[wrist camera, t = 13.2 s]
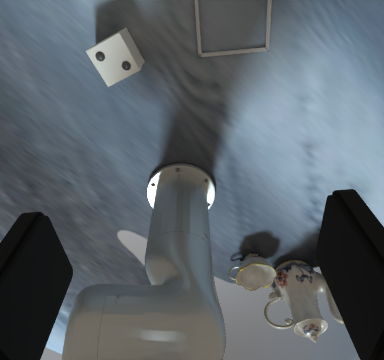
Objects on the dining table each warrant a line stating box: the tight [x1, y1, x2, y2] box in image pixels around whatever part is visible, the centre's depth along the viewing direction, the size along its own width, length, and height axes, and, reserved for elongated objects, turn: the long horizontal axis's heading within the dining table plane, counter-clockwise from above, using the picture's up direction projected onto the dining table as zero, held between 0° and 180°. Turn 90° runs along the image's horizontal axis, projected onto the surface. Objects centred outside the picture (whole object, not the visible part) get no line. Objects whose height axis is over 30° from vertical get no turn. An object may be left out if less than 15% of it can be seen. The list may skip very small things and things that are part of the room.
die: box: [86, 27, 145, 87], centre depth 41 cm, size 5×5×5 cm
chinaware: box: [229, 253, 344, 343], centre depth 62 cm, size 28×17×17 cm, turn 106°
